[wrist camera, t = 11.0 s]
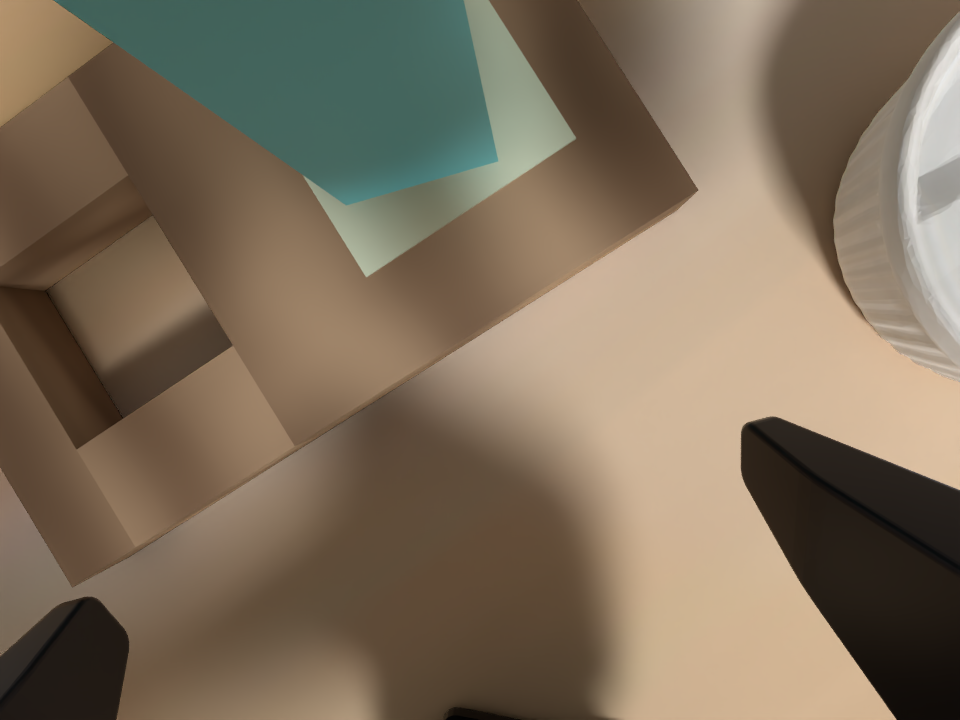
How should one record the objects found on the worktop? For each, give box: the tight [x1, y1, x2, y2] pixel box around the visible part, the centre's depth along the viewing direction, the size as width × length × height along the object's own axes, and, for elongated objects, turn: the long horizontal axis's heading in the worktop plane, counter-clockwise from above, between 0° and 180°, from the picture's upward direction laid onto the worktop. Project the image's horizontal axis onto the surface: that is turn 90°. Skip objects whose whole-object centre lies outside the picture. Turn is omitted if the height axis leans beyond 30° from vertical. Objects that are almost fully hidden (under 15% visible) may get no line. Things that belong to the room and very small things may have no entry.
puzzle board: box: [0, 0, 698, 587], centre depth 18 cm, size 22×13×3 cm, turn 122°
